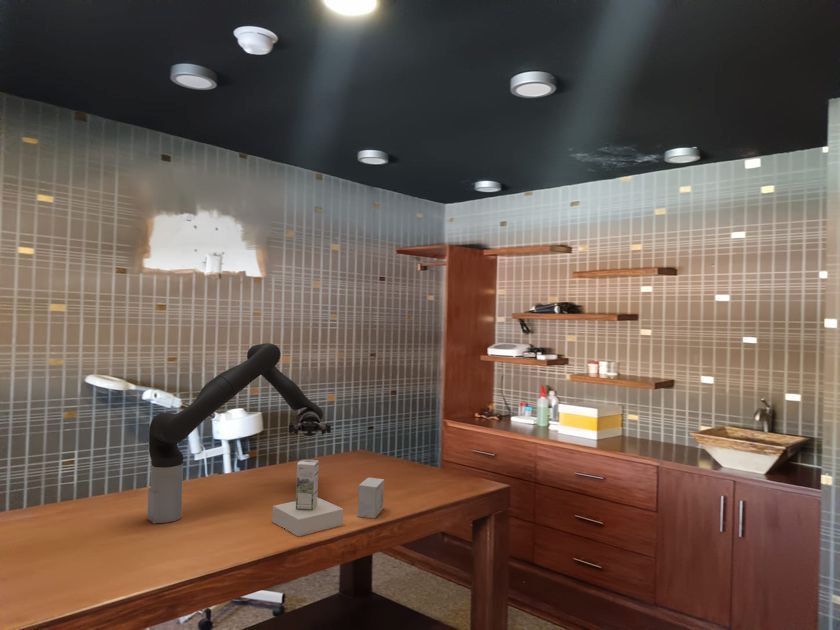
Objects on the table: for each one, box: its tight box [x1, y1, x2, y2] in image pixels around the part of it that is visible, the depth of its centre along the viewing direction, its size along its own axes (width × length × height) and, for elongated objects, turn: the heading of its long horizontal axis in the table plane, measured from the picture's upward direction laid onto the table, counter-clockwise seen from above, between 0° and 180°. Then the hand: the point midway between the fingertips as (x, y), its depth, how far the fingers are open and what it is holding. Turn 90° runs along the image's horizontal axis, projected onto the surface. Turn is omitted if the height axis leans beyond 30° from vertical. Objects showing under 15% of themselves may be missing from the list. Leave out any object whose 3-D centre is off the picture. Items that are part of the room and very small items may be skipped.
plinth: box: [271, 496, 344, 537], centre depth 180 cm, size 16×16×5 cm
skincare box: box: [356, 477, 385, 519], centre depth 192 cm, size 10×6×10 cm, turn 168°
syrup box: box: [295, 459, 320, 510], centre depth 180 cm, size 6×6×14 cm
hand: (310, 431), depth 191 cm, fingers open, 8 cm apart
